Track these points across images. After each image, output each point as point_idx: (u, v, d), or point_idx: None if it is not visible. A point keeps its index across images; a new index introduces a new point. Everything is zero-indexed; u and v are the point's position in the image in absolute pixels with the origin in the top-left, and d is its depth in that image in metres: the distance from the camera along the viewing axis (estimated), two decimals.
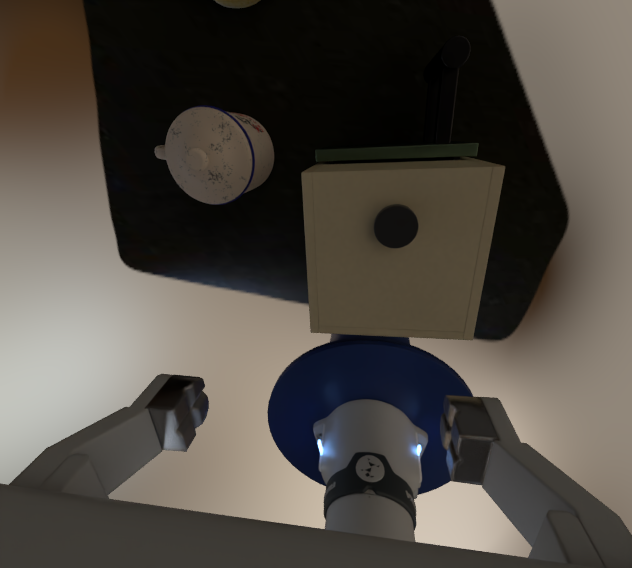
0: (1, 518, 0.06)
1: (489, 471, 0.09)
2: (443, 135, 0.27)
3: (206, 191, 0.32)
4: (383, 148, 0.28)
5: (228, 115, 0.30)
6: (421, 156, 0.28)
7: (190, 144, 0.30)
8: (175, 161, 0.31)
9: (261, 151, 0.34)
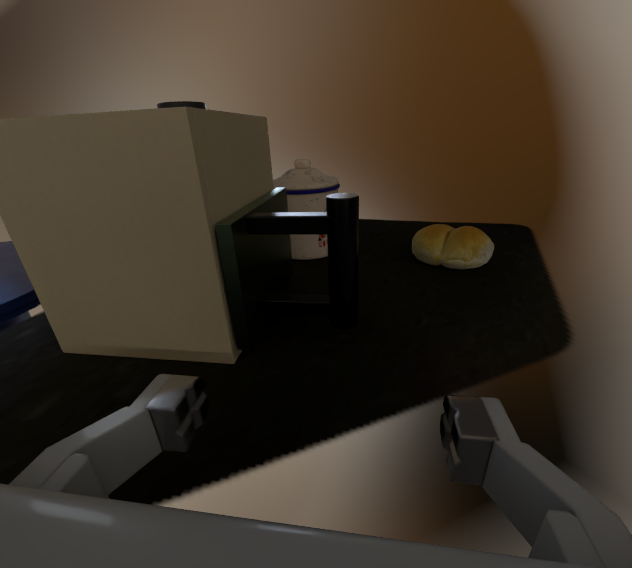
0: (1, 518, 0.06)
1: (489, 471, 0.09)
2: (257, 214, 0.21)
3: None
4: (266, 198, 0.25)
5: (329, 187, 0.38)
6: (243, 207, 0.23)
7: (314, 168, 0.41)
8: None
9: None
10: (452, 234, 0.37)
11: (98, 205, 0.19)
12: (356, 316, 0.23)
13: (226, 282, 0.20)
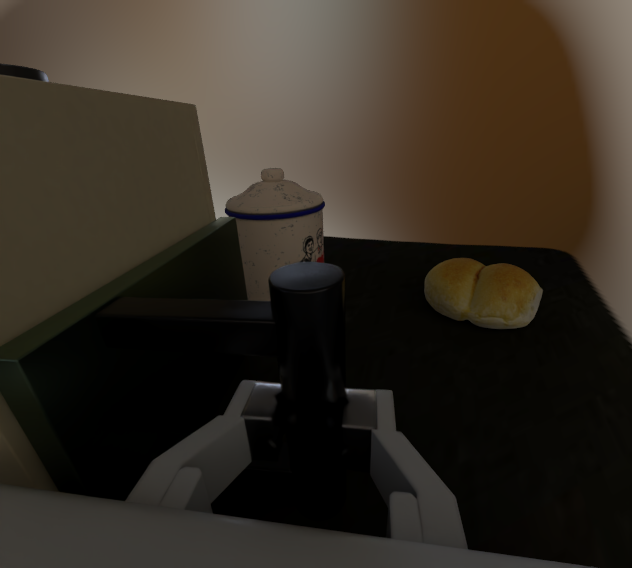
0: (1, 518, 0.06)
1: (372, 459, 0.09)
2: (127, 305, 0.10)
3: None
4: (183, 249, 0.14)
5: (309, 208, 0.27)
6: (117, 279, 0.11)
7: None
8: None
9: (269, 255, 0.27)
10: (484, 277, 0.26)
11: None
12: (343, 492, 0.12)
13: (46, 467, 0.09)
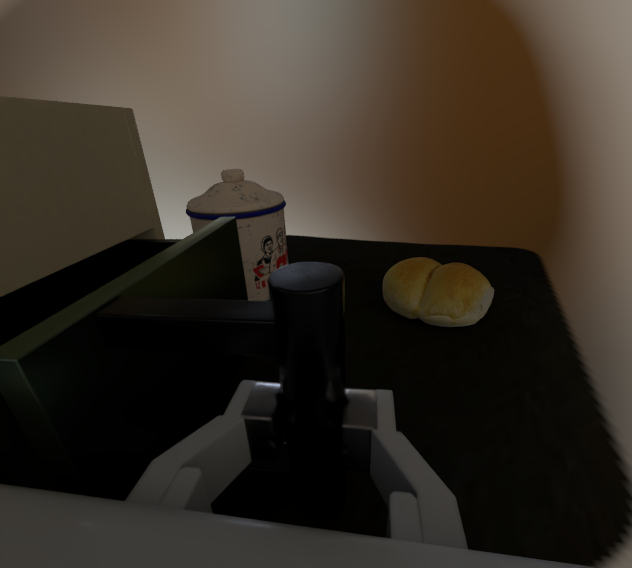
0: (1, 518, 0.06)
1: (371, 459, 0.09)
2: (127, 304, 0.10)
3: None
4: (183, 248, 0.14)
5: (266, 208, 0.27)
6: (117, 278, 0.11)
7: (250, 181, 0.30)
8: None
9: None
10: (435, 276, 0.26)
11: None
12: (343, 492, 0.12)
13: (46, 466, 0.09)
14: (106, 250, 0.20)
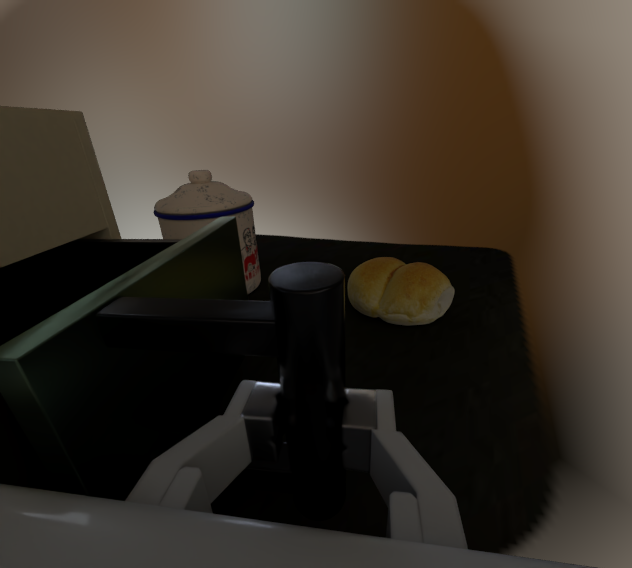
0: (1, 518, 0.06)
1: (371, 458, 0.09)
2: (127, 304, 0.10)
3: None
4: (183, 248, 0.14)
5: (230, 209, 0.28)
6: (117, 278, 0.11)
7: (218, 182, 0.30)
8: None
9: None
10: (396, 276, 0.27)
11: None
12: (343, 492, 0.12)
13: (46, 466, 0.09)
14: (106, 250, 0.20)
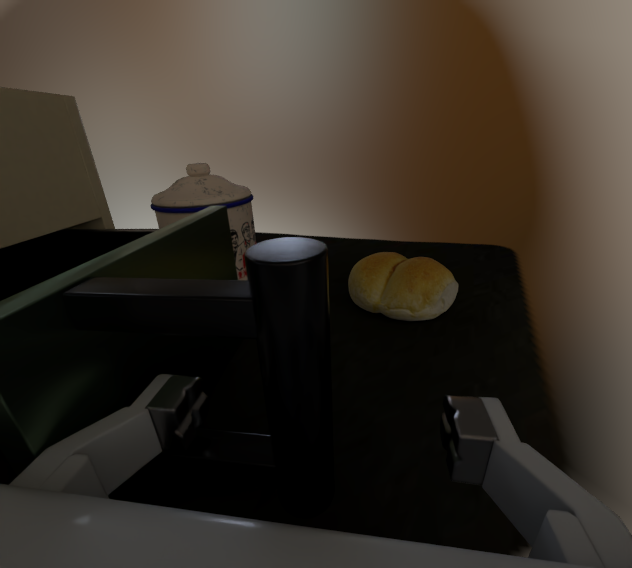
0: (1, 518, 0.06)
1: (489, 471, 0.09)
2: (98, 284, 0.09)
3: None
4: (167, 233, 0.14)
5: (229, 202, 0.27)
6: (92, 260, 0.11)
7: (216, 175, 0.30)
8: None
9: None
10: (398, 270, 0.26)
11: None
12: (331, 488, 0.11)
13: (7, 456, 0.08)
14: (93, 240, 0.19)
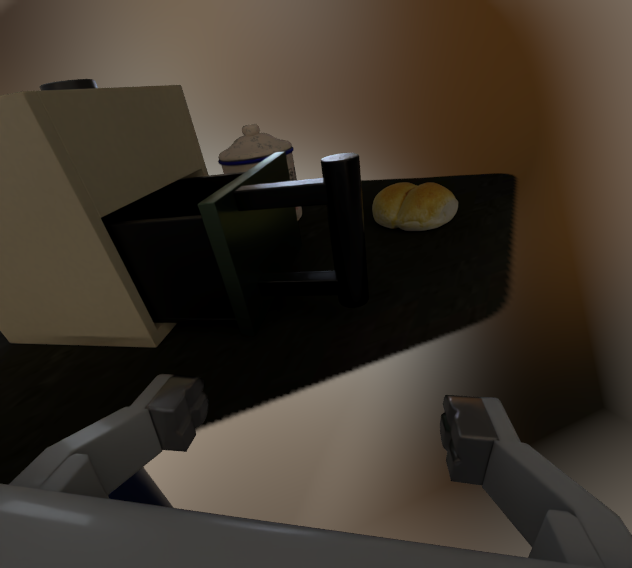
0: (1, 518, 0.06)
1: (489, 471, 0.09)
2: (247, 187, 0.19)
3: None
4: (261, 167, 0.23)
5: None
6: (233, 180, 0.20)
7: (264, 133, 0.38)
8: None
9: None
10: (409, 194, 0.34)
11: None
12: (367, 292, 0.21)
13: (219, 266, 0.19)
14: (199, 184, 0.29)
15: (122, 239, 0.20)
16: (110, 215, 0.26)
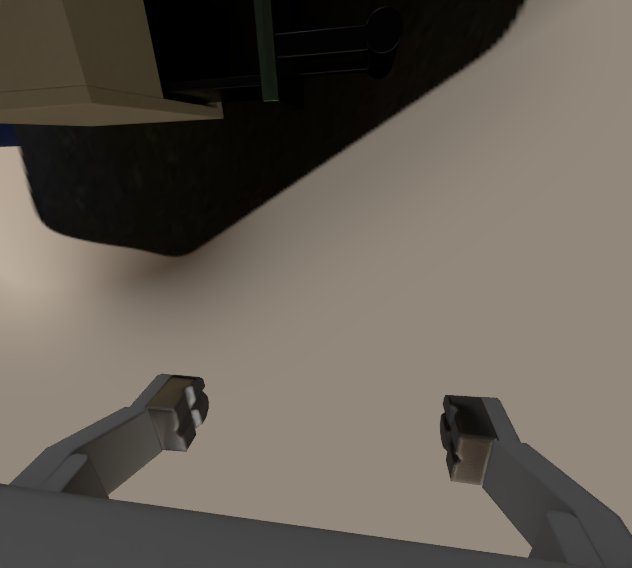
0: (1, 518, 0.06)
1: (489, 471, 0.09)
2: (285, 44, 0.19)
3: None
4: None
5: None
6: (256, 11, 0.18)
7: None
8: None
9: None
10: None
11: (57, 116, 0.21)
12: None
13: None
14: None
15: (179, 93, 0.23)
16: None
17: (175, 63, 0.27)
